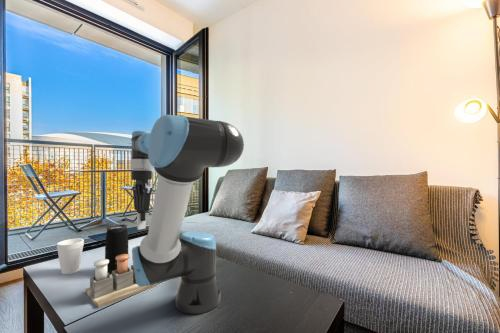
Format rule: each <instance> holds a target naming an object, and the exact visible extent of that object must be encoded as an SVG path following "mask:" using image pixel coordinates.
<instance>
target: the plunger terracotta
mask: <svg viewBox="0 0 500 333" xmlns="http://www.w3.org/2000/svg"><path fill="white" fill-rule="evenodd" d="M129 259H130V254H129V253H128V254H121V255H118V256H116V260H117V274H118V275H119V274H122V273H126V272H128V267H129Z"/></svg>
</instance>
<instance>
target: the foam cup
mask: <svg viewBox="0 0 500 333" xmlns="http://www.w3.org/2000/svg"><path fill="white" fill-rule="evenodd" d="M84 245H85V239H84V238H79V237H78V238H69V239H65V240H61V241H59V242H57V243H56V250H57V255H58V261H59V266H60V272H61V275H71V274H74V273H77V272H79V270H80V267H81V263H82V262H81V261H82V256H83V249H84Z"/></svg>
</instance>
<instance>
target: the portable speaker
mask: <svg viewBox="0 0 500 333" xmlns="http://www.w3.org/2000/svg"><path fill="white" fill-rule="evenodd" d="M127 226H128V225H127V224H119V225H108V226H107V227H106V234H105V239H104V241H105V243H104V259H108V260H109V264H107V272H108V273H109V274H110V275H112V271H114V270H117V260H116V256H118V255H121V254H129V234H128V228H127Z"/></svg>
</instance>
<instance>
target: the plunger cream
mask: <svg viewBox="0 0 500 333" xmlns="http://www.w3.org/2000/svg"><path fill="white" fill-rule="evenodd" d="M107 264H109V260H108V259H105V258H103V259H102V258H101V259H98V260H95V261H94V262H93V266H94V267H95V271H94V272H95V273H94V274H95V281H96V282H97V281H100V280H103V279H106V278H107Z"/></svg>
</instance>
